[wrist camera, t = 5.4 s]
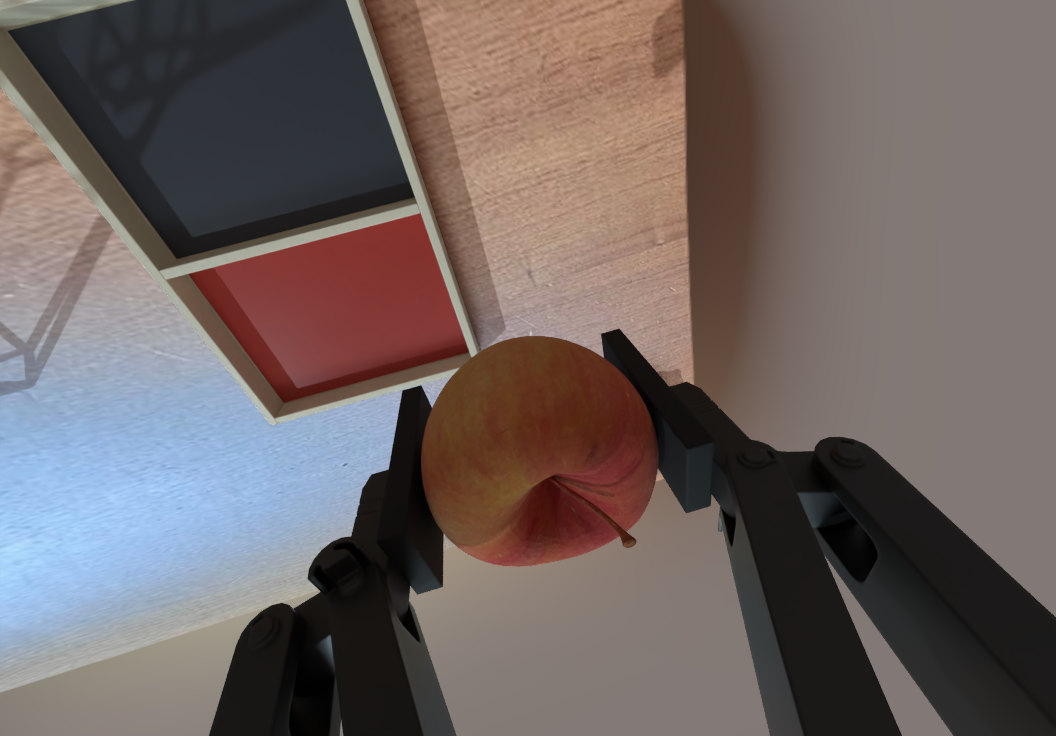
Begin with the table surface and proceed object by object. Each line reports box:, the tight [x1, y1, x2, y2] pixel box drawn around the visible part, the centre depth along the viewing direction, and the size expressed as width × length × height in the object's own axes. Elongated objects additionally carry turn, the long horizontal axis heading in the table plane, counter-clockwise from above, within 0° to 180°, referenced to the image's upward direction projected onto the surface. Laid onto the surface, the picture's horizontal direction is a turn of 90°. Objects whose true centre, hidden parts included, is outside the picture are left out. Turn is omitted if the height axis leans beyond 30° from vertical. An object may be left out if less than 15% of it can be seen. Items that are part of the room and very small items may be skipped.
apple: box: [421, 336, 659, 566], centre depth 12 cm, size 7×7×8 cm
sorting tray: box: [0, 0, 480, 425], centre depth 24 cm, size 17×25×2 cm
